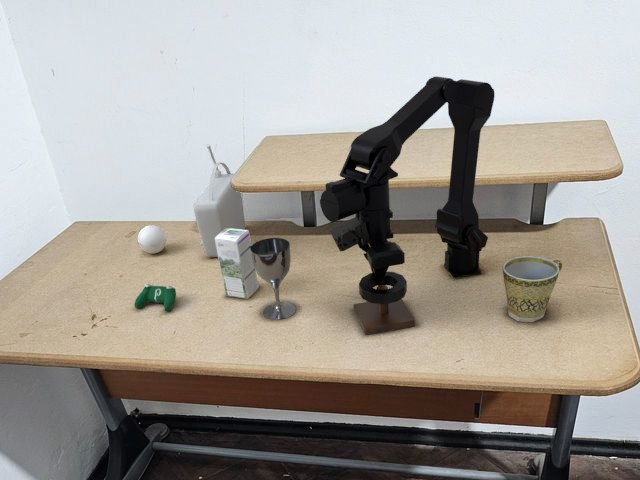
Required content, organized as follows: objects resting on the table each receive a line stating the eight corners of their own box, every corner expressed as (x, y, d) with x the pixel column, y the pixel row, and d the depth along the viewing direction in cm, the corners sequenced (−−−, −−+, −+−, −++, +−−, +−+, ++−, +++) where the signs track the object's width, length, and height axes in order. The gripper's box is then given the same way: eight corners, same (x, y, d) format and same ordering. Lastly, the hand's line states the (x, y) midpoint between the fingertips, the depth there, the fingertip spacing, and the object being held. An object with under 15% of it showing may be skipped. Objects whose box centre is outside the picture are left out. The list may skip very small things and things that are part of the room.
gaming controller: (176, 314, 140) (181, 288, 141) (168, 310, 137) (173, 283, 138) (141, 311, 143) (146, 286, 144) (132, 306, 140) (137, 281, 141)
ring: (397, 277, 128) (397, 267, 127) (412, 298, 121) (412, 288, 119) (354, 285, 127) (354, 276, 126) (367, 307, 119) (367, 297, 118)
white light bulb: (173, 245, 168) (167, 219, 164) (164, 257, 162) (157, 231, 158) (138, 246, 170) (131, 221, 166) (127, 259, 164) (120, 233, 160)
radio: (219, 227, 176) (202, 136, 162) (248, 225, 174) (233, 134, 161) (197, 262, 158) (176, 164, 144) (229, 261, 156) (211, 162, 143)
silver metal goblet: (293, 321, 129) (284, 255, 121) (256, 320, 131) (245, 255, 123) (301, 301, 136) (293, 237, 128) (266, 301, 138) (256, 237, 129)
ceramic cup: (524, 333, 117) (529, 285, 112) (488, 311, 125) (491, 265, 119) (576, 311, 122) (583, 264, 116) (538, 291, 129) (543, 246, 124)
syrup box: (259, 287, 143) (250, 228, 135) (247, 300, 139) (236, 239, 131) (238, 284, 146) (227, 226, 138) (225, 297, 141) (213, 237, 133)
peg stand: (400, 302, 131) (399, 272, 128) (415, 326, 123) (414, 295, 119) (353, 310, 131) (351, 280, 127) (365, 335, 122) (363, 304, 118)
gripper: (322, 195, 125) (329, 266, 133) (342, 231, 109) (348, 308, 118) (377, 186, 125) (380, 257, 134) (404, 221, 110) (406, 298, 119)
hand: (377, 279), depth 126 cm, fingers closed on ring, 2 cm apart
